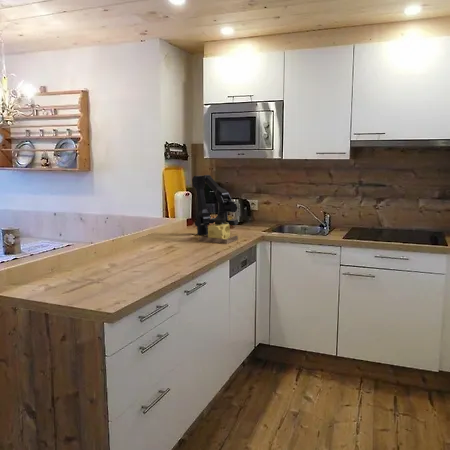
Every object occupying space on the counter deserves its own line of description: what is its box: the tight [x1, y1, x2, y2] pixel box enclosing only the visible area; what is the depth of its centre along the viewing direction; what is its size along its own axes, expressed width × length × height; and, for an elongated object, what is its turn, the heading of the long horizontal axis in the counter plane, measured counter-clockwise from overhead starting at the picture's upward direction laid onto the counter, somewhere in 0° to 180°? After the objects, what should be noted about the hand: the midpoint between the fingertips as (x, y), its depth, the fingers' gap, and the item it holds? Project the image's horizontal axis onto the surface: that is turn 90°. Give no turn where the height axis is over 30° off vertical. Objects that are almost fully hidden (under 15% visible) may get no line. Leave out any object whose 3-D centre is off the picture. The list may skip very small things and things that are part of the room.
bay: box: [198, 234, 239, 245], centre depth 277 cm, size 20×14×2 cm
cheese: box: [207, 223, 231, 239], centre depth 276 cm, size 10×11×10 cm
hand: (223, 234), depth 284 cm, fingers closed, pressing on cheese
